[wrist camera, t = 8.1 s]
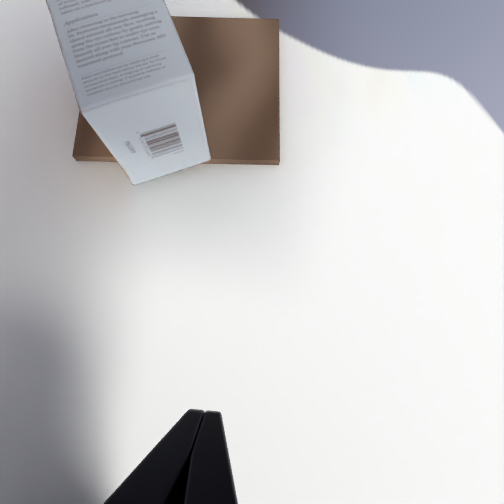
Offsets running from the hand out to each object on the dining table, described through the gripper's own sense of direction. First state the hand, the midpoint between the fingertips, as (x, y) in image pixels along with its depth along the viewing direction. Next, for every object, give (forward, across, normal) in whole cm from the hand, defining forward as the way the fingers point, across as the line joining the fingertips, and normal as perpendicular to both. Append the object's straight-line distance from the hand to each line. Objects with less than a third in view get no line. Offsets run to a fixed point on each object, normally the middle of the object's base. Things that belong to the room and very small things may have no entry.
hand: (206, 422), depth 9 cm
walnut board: (+21, +6, -9) cm, 24 cm away
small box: (+13, +5, -6) cm, 15 cm away
